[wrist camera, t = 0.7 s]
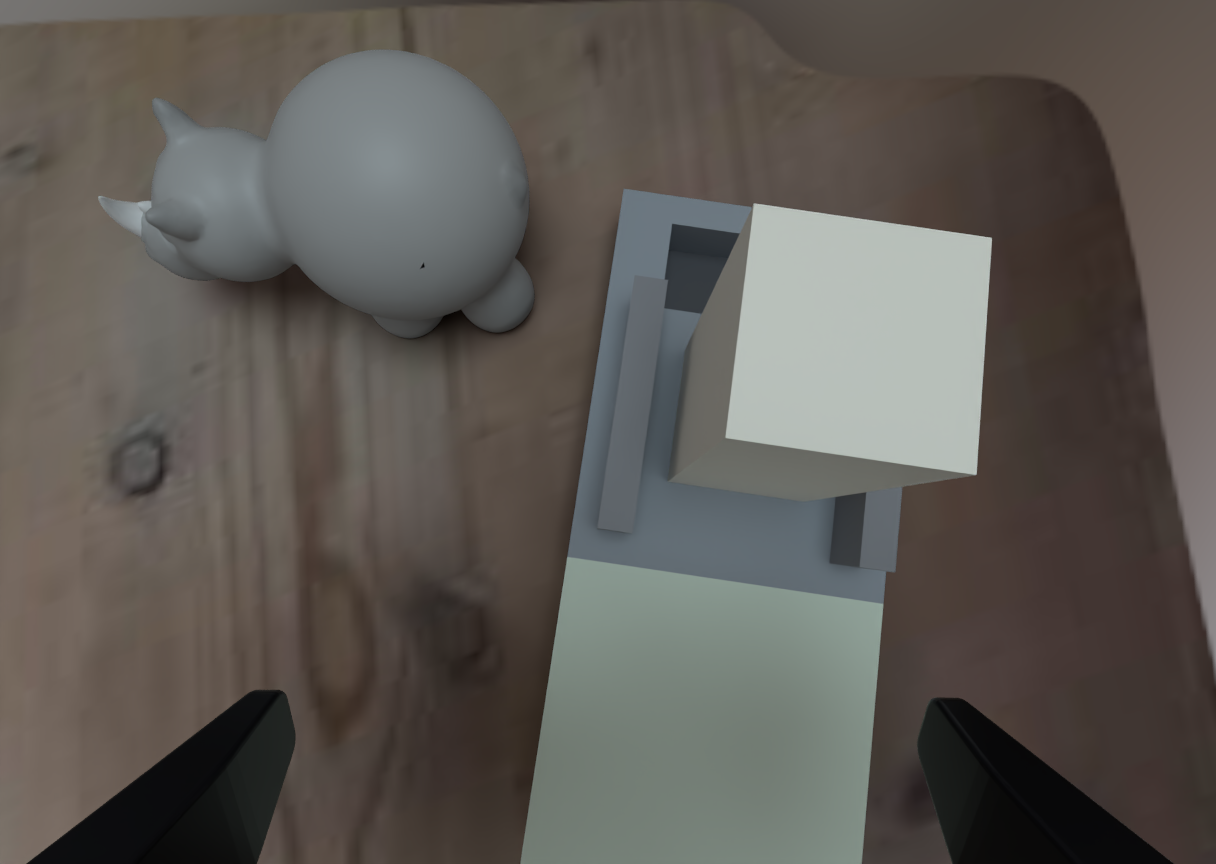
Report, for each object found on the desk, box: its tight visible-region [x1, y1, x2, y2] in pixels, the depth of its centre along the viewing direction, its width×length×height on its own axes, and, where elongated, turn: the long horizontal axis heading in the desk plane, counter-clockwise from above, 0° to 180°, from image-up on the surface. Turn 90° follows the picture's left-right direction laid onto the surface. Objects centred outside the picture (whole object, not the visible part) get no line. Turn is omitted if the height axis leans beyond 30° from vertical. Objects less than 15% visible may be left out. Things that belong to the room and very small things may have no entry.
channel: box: [520, 189, 902, 864], centre depth 22 cm, size 22×10×5 cm, turn 172°
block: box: [667, 204, 992, 502], centre depth 17 cm, size 4×4×10 cm
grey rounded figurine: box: [98, 50, 535, 338], centre depth 21 cm, size 8×12×9 cm, turn 93°
